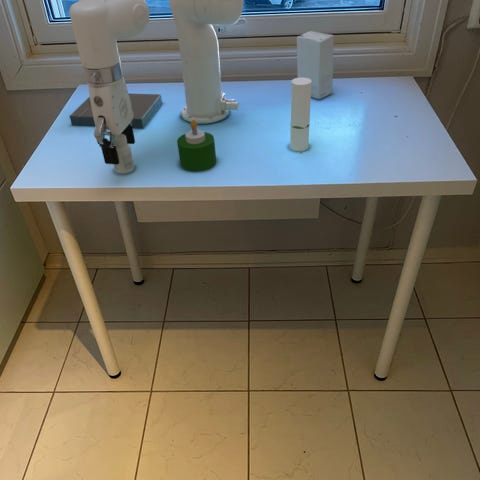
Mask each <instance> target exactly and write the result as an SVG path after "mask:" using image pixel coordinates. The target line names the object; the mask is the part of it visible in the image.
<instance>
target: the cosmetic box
mask: <svg viewBox="0 0 480 480" xmlns="http://www.w3.org/2000/svg"><path fill="white" fill-rule="evenodd" d="M334 38H335V35H334V34H329V33H323V32H318V31H313V30H310V31H307V32H305V33H302V34H300V35H298V36H297V37H296V71H297V72H296V73H297V76H296V78H300V77H304V78H309V79H311V98H313V99H316V100H321V99H324V98H325V97H327V96H330V95H332V94H333V81H334V80H333V78H334V75H333V74H334V45H335V43H334V41H335V39H334Z"/></svg>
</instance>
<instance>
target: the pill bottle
mask: <svg viewBox="0 0 480 480" xmlns="http://www.w3.org/2000/svg"><path fill="white" fill-rule="evenodd" d="M114 146H116V148H117V153H118V157H119V164H118V165H117V164H113V166H114V170H115V172H116V173H117V174H121V175H123V174H124V175H125V174H129V173H131V172H133V171H134V170H135V162H134V157H133V153H132V149H131V146H130V144H127V139H126V136H125V135H124V134H120V135H115V137H114Z"/></svg>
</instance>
